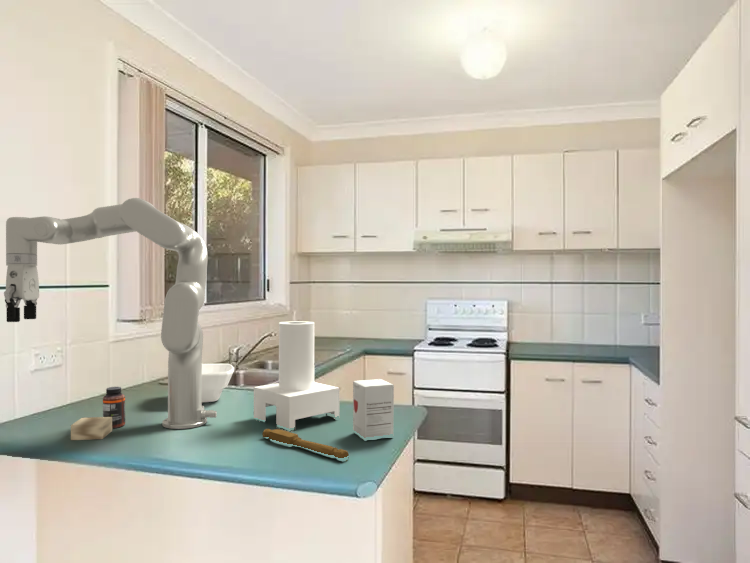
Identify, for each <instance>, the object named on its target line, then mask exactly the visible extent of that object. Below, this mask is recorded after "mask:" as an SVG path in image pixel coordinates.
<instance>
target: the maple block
mask: <svg viewBox="0 0 750 563" xmlns="http://www.w3.org/2000/svg"><path fill="white" fill-rule="evenodd" d="M111 432H113V428H112V417H103V416H97V417H96V416H92V417H81V418H80V419H78V420H76V421H75V422H73V423H72V424H71V425H70V441H82V440H83V441H85V440H103V439H104V438H106V437H107V436H108V435H109V434H110V433H111Z"/></svg>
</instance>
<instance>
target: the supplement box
mask: <svg viewBox="0 0 750 563" xmlns="http://www.w3.org/2000/svg"><path fill="white" fill-rule="evenodd" d="M352 383H353V384H352V388H353V389H352V398H353V399H352V413H353V414H352V431H353V430H354V431H356V432H357V433H359V434H360V435H361V436H363V437H364V438H366V437H374V436H383V435H390V434H393V435H394V417H395V416H394V415H395V414H394V410H395V409H394V408H395V406H394V402H395V401H394V398H395V396H394V395H395V394H394V393H395V385H394V384H393V383H391V382H388V381H386V380H384V379H382V378H376V379H364V380H363V379H362V380H361V379H359V380H353V381H352Z"/></svg>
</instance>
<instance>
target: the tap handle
mask: <svg viewBox="0 0 750 563" xmlns="http://www.w3.org/2000/svg"><path fill="white" fill-rule="evenodd" d="M261 435H262V438H263V437H269V439H272V440H276V441H279V442H283V443H287V444H293V445H297V446H301V447H304V448H308V449H311V450H314V451H317V452H321V453H324V454H328V455H334V456H335V457H338V458H344V457H347V456H349V455H350V454H349V452H348V450H346V449H343V448H340V449H338V447H334V446H331V445H326V444H322V443H318V442H314V441H309V440H306V439H302V437H299V435H298V434H297V433H294V432H292V431H291V432H289V431H286V430H283V429H280V428H276V429H270V428H265V429H264V430H263V431H262V434H261ZM269 439H268V440H269ZM349 457H350V456H349Z"/></svg>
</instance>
